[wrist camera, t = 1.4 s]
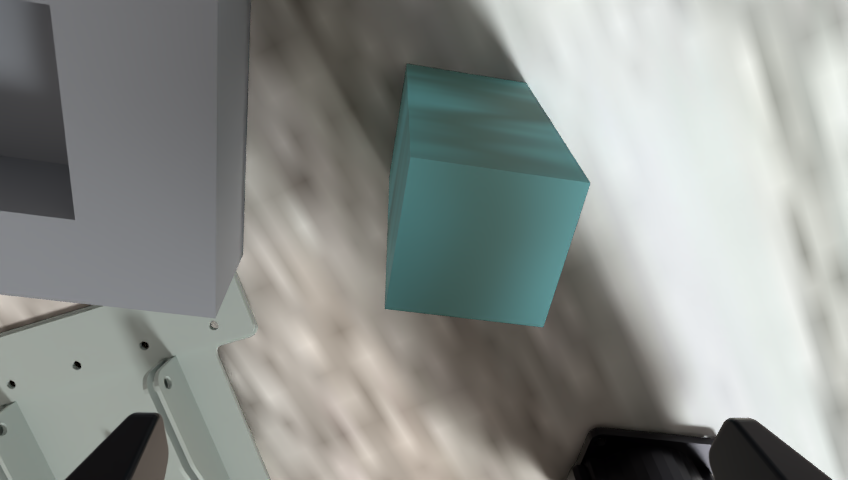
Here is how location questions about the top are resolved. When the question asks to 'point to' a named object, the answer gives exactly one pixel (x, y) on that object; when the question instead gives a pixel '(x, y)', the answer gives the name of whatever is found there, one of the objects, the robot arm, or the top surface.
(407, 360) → the top surface
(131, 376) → the metal bracket
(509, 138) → the teal peg
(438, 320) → the top surface
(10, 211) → the well block
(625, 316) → the top surface
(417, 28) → the top surface
